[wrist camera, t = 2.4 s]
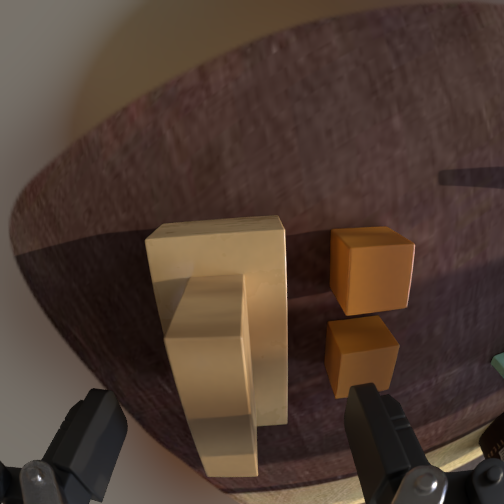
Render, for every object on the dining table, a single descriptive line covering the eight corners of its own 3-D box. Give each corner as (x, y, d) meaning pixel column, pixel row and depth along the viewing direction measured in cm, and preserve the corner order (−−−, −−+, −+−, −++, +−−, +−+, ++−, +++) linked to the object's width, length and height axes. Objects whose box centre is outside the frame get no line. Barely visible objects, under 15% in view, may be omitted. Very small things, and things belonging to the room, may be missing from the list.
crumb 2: (323, 364, 17) (335, 399, 14) (327, 321, 16) (341, 354, 13) (371, 357, 16) (388, 389, 14) (378, 314, 16) (400, 345, 13)
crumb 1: (328, 286, 15) (345, 316, 12) (330, 228, 14) (349, 248, 11) (382, 281, 15) (407, 308, 12) (387, 225, 14) (416, 243, 11)
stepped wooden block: (281, 380, 17) (295, 488, 10) (197, 384, 17) (179, 489, 10) (276, 210, 14) (306, 274, 7) (167, 218, 14) (94, 285, 7)
